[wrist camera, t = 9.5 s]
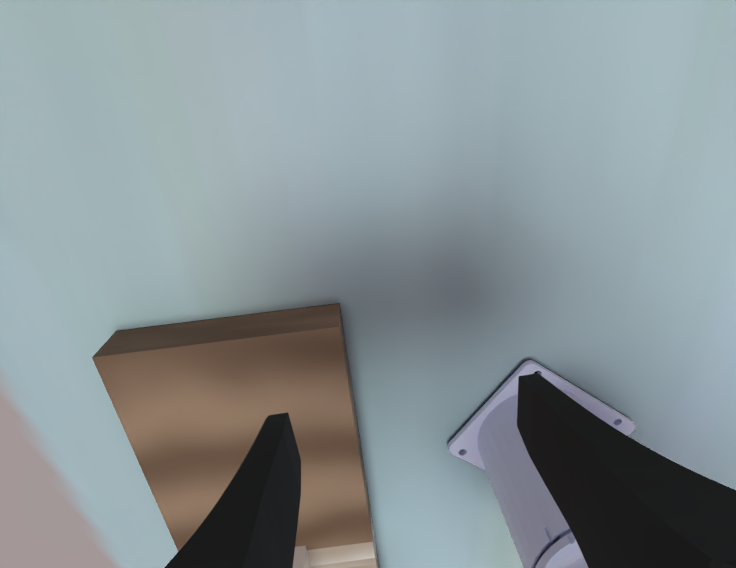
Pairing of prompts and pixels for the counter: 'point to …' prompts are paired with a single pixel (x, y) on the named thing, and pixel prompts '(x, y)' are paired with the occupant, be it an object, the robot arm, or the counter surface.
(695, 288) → the counter surface
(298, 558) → the plug
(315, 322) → the socket board
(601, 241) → the counter surface
